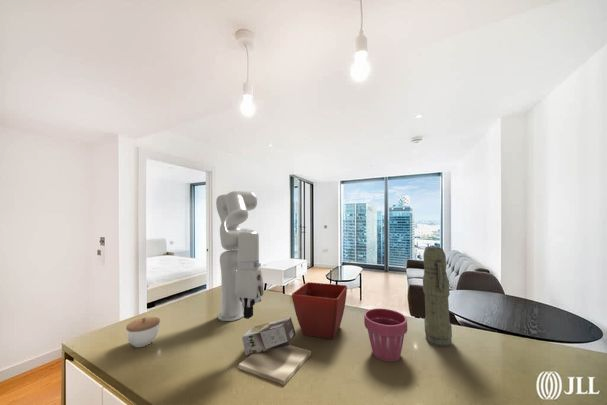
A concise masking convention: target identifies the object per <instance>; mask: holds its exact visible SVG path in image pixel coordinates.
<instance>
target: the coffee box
mask: <svg viewBox="0 0 607 405" xmlns="http://www.w3.org/2000/svg"><path fill="white" fill-rule="evenodd" d="M296 335H297V334H296V330H295V326H294V323H293V321H292V317H287V318H283V319H279V320H275V321H271V322H268V323H263V324H260V325H256V326H252V327H251V328H250V329H249V330H248V331H247V332H246V333H245V334H243V335H242V336H241V339H242V345H243V349H244V353H245V354H244V355H245V356H248V355H249V356H250V355H252V354H254V353H258V352H263V351H267V350H271V349H276V348H280V347H285V346H289V345H291V343H292V341H293V340H294V338H295V336H296Z"/></svg>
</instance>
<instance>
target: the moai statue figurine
mask: <svg viewBox="0 0 607 405" xmlns="http://www.w3.org/2000/svg"><path fill="white" fill-rule="evenodd" d="M422 259H423V268H424V270H423V276H422V291H423V294H424V305H425V306H424V307H425V309H424V310H425V318H424V333H425V341H427V342H428V343H429V344H430V345H434V346H437V347H439V348H440V347H441V348H447V347H451V346H452V344H453V342H452V337H453V334H452V332H453V331H452V323H451V322H450V321H451V320H450V304H449V296H450V280H449V278H448V275H447V257H446V253H445V251H444V248H442V247H440V246H426V247H425V248H424V252H423V258H422Z"/></svg>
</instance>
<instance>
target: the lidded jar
mask: <svg viewBox="0 0 607 405" xmlns="http://www.w3.org/2000/svg"><path fill="white" fill-rule="evenodd" d="M160 322H161V320H160V318H159V317H157V316H147V317H141V318H139V319H135V320H133V321H131V322H129V323H127V324H126V329H125V330H126V338H127V341H128V342H129V344H130V345H131V346H133V347H134V348H143V347H145V345H146V346H149V345H150V344H151V342H152V343H153V341H154V340H155V339H156V337H157V336H158V334H159V332H160ZM148 344H149V345H148ZM142 346H143V347H142Z"/></svg>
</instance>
